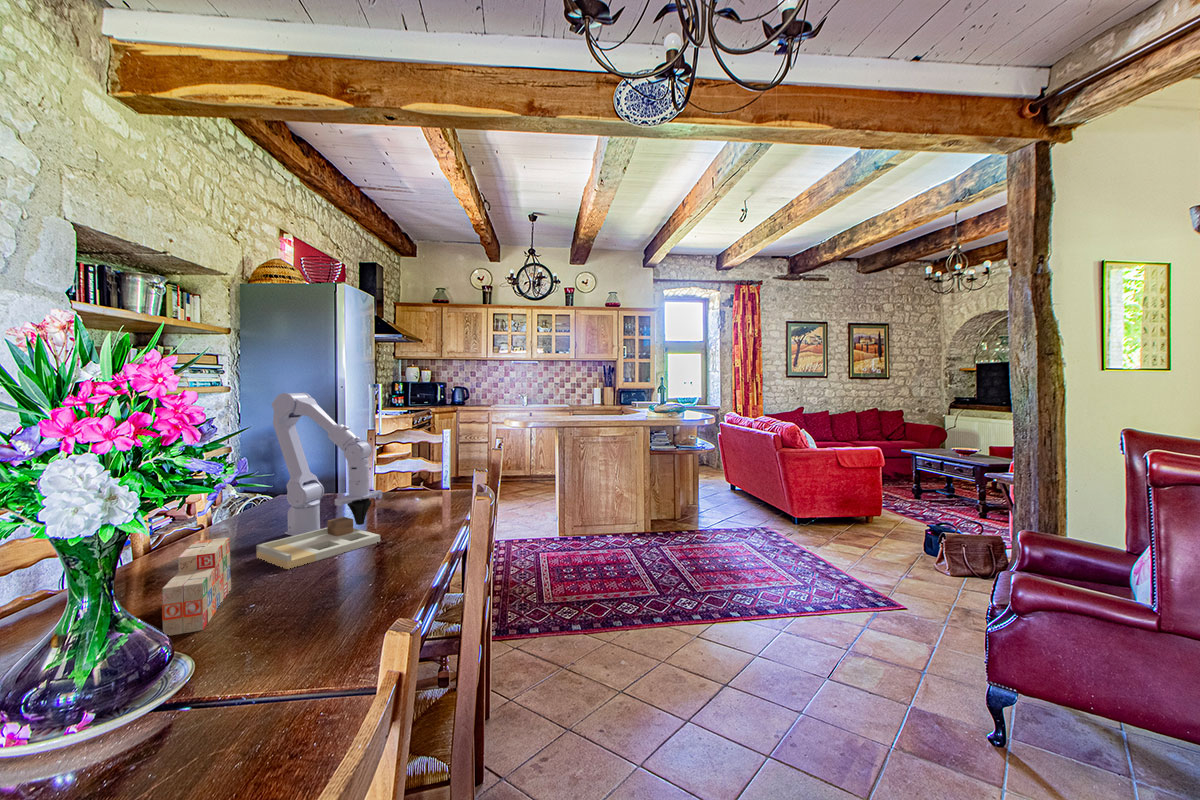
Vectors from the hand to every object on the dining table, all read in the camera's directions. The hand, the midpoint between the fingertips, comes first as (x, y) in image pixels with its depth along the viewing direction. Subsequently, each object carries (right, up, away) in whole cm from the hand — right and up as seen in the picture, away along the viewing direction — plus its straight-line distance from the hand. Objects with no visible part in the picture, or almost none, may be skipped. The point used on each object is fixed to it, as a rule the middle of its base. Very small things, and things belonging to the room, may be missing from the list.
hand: (359, 524), depth 156 cm
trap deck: (-4, -4, -14) cm, 15 cm away
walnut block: (-3, -1, -5) cm, 6 cm away
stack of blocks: (-8, -5, -52) cm, 53 cm away
